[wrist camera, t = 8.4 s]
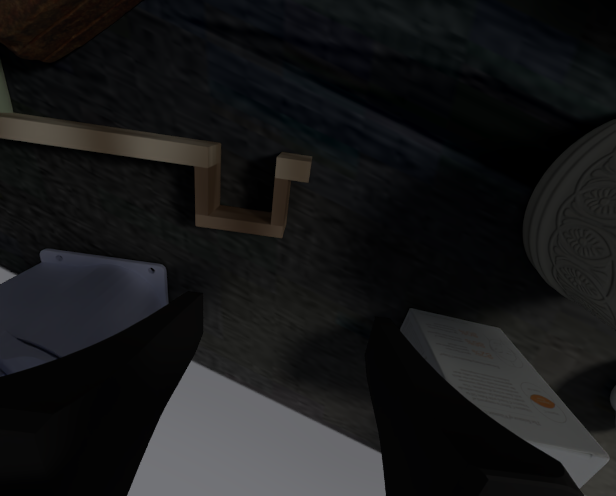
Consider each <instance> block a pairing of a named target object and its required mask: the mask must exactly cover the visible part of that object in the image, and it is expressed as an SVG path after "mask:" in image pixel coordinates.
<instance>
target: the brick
mask: <svg viewBox="0 0 616 496" xmlns="http://www.w3.org/2000/svg"><path fill="white" fill-rule="evenodd" d="M141 1H143V0H0V43H2V44H4V45H5V46H6V47H7V48H8V49H9V50H10V51H12V52H13V53H14V54H15V55H16V56H18V57H19V58H22V59H27V60H40V61H42V62H46V63H52V62H55V61H57V60H59V59H61V58H62V57H64V56H65V55H67V54H69V53H70V52H72V51H73V50H75V49H76V48H78V47H81V46H82V45H84V44H85V43H87V42H88V41H89V40H91V39H92V38H93V37H95V36H96V35H97V34H99V33H100V32H102V31H103V30H105V29H106V28H108V27H109V26H110V25H112V24H113V23H114V22H116V21H117V20H118V19H120V18H121V17H122V16H123V15H124V14H125V13H126V12H128V11H130V10H131V9H132V8H133V7H135V6H136V5H137V4H138V3H139V2H141Z"/></svg>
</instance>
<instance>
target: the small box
mask: <svg viewBox="0 0 616 496" xmlns="http://www.w3.org/2000/svg"><path fill="white" fill-rule="evenodd" d="M400 331H401V332H402V334H403V335H404V336H405V337H406V338H407V340H408V341H409V342H410V343H411V344H412V345H413V347H414V348H415V349H416V350H417V351H418V352H419V353H420V354H421V356H422V357H423V358H424V359H425V360H426V361H427V362H428V363H429V364H430V365H431V366H432V367H433V368H434V369H435V370H436V371H437V372H438V373H439V374H440V375H441V376H442V377H443V378H444V379H445V380H446V381H447V382H448V383H449V384H450V385H452V386H453V387H454V388H455V389H456V390H457V391H458V392H459V393H461V394H462V395H463V396H464V397H465V398H467V399H468V400H469V401H470V402H472V403H473V404H474V405H475V406H477V407H478V408H479V409H481V410H482V411H483V412H484V413H486V414H487V415H488V416H490V417H491V418H493V419H494V420H495V421H497V422H498V423H500V424H501V425H502V426H504V427H505V428H507V429H508V430H510V431H511V432H513V433H514V434H516V435H517V436H519V437H520V438H522V439H523V440H525V441H527V442H528V443H530V444H532V445H533V446H535V447H537V448H538V449H540V450H542V451H543V452H545V453H546V454H548V455H550V456H551V457H553V458H555V459H556V460H558V461H560V462H561V463H562V465H563V466H564V467H565V469H566V470H567V472H568V473H569V475H570V476H571V478H572V479H573V481H574V482H575V483H576V485H577V486H578V488H581V487H582V486H583V485H584V484H585V483H586V482H587V481H588V480H589V479H590V478H591V477H592V476H593V475H594V474H596V473H597V472H598V471H599V470H600V469H601V468H602V467H603V466H604V465H605V464H606V463H607V462H608V461H609V459H610V458H609V455H608V454H607V453H606V452H605V450H604V449H603V448H602V447H601V446H600V445H599V443H598V442H597V441H596V440H595V439H594V438H593V436H592V435H591V434H590V433H589V432H588V431H587V429H586V428H585V427H584V426H583V425H582V424H581V422H580V421H579V420H578V419H577V418H576V417H575V415H574V414H573V413H572V412H571V411H570V410H569V408H568V407H567V406H566V405H565V404H564V403H563V401H562V400H561V399H560V398H559V397H558V395H557V394H556V393H555V392H554V391H553V390H552V388H551V387H550V386H549V385H548V384H547V383H546V382H545V380H544V379H543V378H542V377H541V376H540V375H539V373H538V372H537V371H536V370H535V369H534V368H533V366H532V365H531V364H530V363H529V362H528V361H527V360H526V358H525V357H524V356H523V355H522V354H521V352H520V351H519V350H518V349H517V348H516V347H515V346H514V344H513V343H512V342H511V341H510V340H509V339H508V337H507V336H506V335H505V334H504V333H503V331H502V330H501V329H500V328H498V327H493V326H488V325H484V324H479V323H475V322H471V321H466V320H462V319H457V318H453V317H449V316H444V315H440V314H435V313H431V312H426V311H422V310H417V309H413V308H410V309H409V311H408V313H407V315H406V318H405V320H404V322H403V324H402V326H401V328H400Z"/></svg>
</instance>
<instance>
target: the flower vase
mask: <svg viewBox="0 0 616 496" xmlns="http://www.w3.org/2000/svg"><path fill="white" fill-rule="evenodd" d="M610 404H611V406H612V407H613V409H614V410H615V411H616V385H615V386H614V388H613V389H612V391H611V394H610ZM614 422H615V428H616V412H615V416H614Z"/></svg>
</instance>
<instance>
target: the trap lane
mask: <svg viewBox="0 0 616 496" xmlns="http://www.w3.org/2000/svg"><path fill="white" fill-rule="evenodd" d="M0 138H3V139H10V140H17V141H24V142H31V143H38V144H45V145H52V146H59V147H66V148H72V149H79V150H86V151H93V152H100V153H107V154H114V155H121V156H128V157H135V158H142V159H149V160H155V161H162V162H169V163H176V164H183V165H190V166H195V222H196V226H199V227H206V228H213V229H221V230H228V231H235V232H242V233H249V234H256V235H263V236H270V237H278V238H282V236H283V233H284V230H285V226H286V220H287V211H288V202H289V193H290V184H291V180H294V181H301V182H308V181H309V175H310V168H311V161H312V156H305V155H299V154H292V153H285V152H281V153H280V154H279V155H278V156H277V160H276V171H275V182H274V194H273V205H272V212H265V211H258V210H251V209H244V208H237V207H230V206H223V205H220V173H221V143H217V142H210V141H203V140H196V139H189V138H182V137H176V136H169V135H162V134H155V133H148V132H141V131H135V130H128V129H121V128H114V127H107V126H100V125H94V124H87V123H80V122H73V121H66V120H59V119H53V118H46V117H39V116H32V115H25V114H18V113H13V109H12V105H11V101H10V96H9V92H8V88H7V84H6V80H5V76H4V72H3V68H2V63H1V59H0Z"/></svg>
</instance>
